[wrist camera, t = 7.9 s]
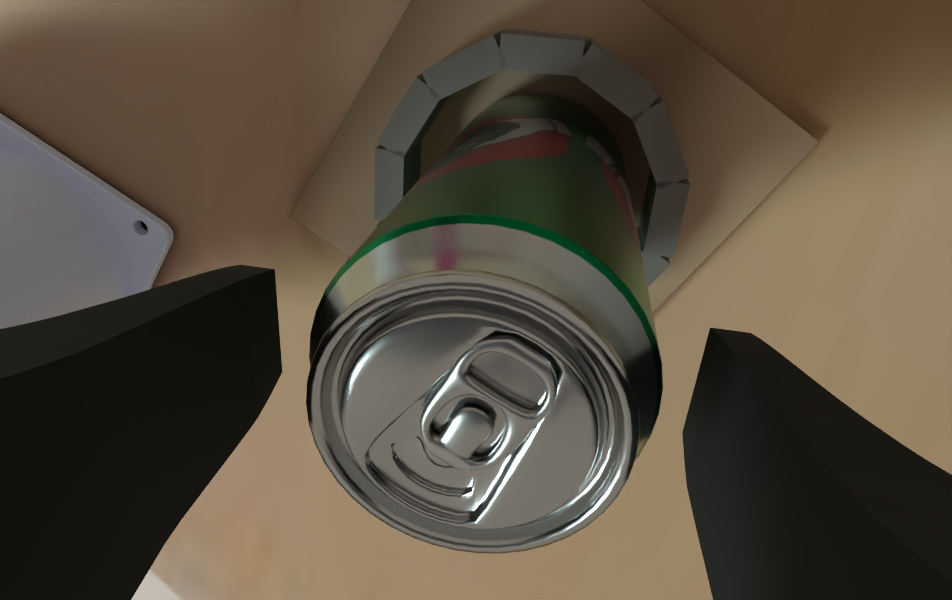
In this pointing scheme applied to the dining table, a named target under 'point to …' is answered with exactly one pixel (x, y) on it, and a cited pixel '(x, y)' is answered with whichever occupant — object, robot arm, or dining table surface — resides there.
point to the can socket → (575, 78)
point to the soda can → (493, 339)
